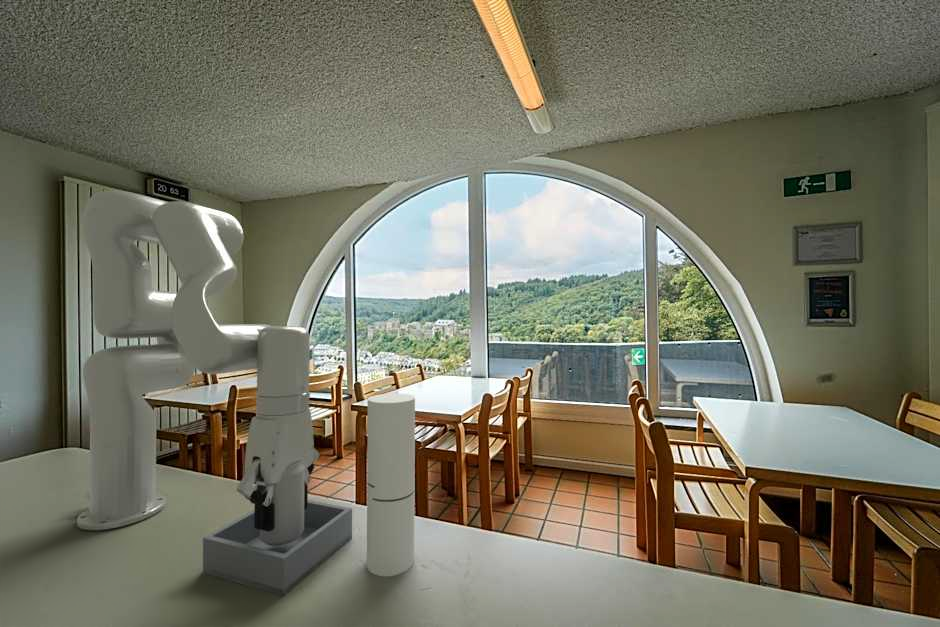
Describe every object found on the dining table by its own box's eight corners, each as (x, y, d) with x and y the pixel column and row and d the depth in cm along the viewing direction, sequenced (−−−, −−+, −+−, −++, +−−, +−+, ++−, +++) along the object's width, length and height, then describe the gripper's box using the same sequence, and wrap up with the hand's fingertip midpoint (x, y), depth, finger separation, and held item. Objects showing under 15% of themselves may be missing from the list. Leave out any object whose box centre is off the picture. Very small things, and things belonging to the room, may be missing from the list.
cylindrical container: (396, 542, 67) (397, 391, 67) (423, 561, 62) (424, 398, 62) (357, 561, 62) (358, 397, 62) (383, 583, 57) (384, 405, 57)
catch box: (202, 572, 59) (203, 537, 59) (281, 522, 73) (282, 495, 73) (284, 596, 54) (284, 558, 54) (351, 538, 68) (352, 508, 68)
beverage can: (287, 551, 60) (288, 470, 60) (249, 545, 61) (250, 466, 61) (312, 529, 66) (313, 455, 66) (277, 524, 67) (278, 452, 67)
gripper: (303, 392, 73) (302, 492, 73) (215, 414, 57) (213, 542, 57) (338, 395, 71) (337, 498, 70) (256, 419, 54) (254, 553, 54)
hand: (282, 517), depth 64 cm, fingers closed on beverage can, 6 cm apart
